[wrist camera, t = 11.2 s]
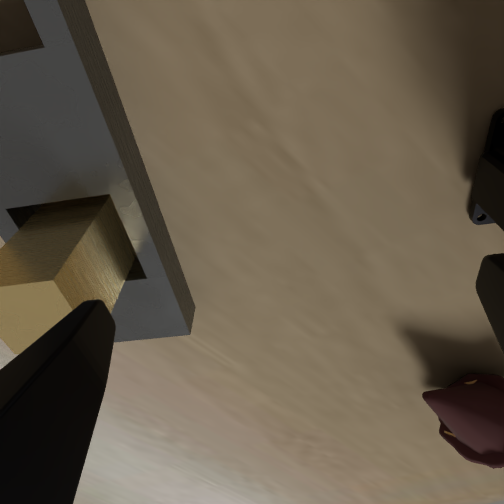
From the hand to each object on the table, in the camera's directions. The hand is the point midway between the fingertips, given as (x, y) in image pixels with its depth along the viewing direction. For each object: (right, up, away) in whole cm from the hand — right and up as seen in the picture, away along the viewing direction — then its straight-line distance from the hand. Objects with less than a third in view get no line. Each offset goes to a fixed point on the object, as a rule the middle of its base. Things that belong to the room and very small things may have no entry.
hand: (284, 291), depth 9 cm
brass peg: (-10, +3, +13) cm, 17 cm away
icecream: (+18, -10, +23) cm, 31 cm away
